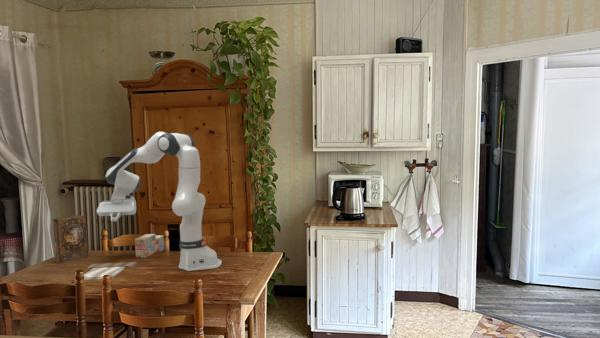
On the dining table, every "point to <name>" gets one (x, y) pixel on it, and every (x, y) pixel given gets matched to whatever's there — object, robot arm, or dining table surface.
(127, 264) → the grey flat bar
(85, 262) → the dining table surface
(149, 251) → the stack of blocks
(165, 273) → the dining table surface
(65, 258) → the book
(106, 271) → the metal panel
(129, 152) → the robot arm
